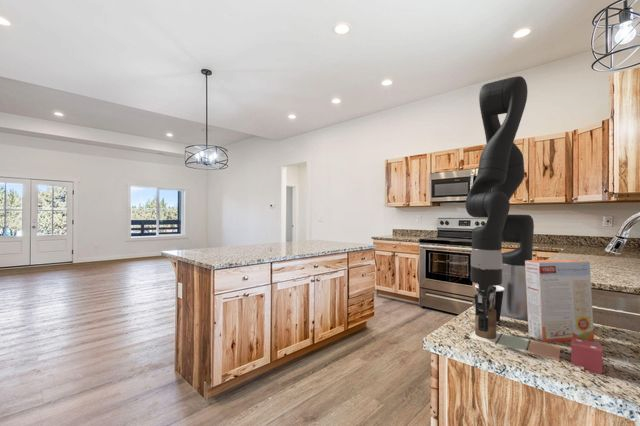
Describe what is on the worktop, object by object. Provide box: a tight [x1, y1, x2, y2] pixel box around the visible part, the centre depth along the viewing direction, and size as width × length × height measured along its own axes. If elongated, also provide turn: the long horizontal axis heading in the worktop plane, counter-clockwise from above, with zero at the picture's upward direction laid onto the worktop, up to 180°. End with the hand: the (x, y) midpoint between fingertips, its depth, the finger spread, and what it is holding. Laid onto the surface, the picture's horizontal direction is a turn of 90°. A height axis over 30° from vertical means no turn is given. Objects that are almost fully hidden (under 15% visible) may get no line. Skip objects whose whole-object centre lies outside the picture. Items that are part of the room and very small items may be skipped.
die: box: [570, 337, 603, 375], centre depth 67 cm, size 5×5×5 cm
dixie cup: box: [475, 283, 505, 324], centre depth 92 cm, size 8×8×11 cm
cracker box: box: [525, 259, 595, 343], centre depth 81 cm, size 14×6×21 cm, turn 92°
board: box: [468, 330, 562, 361], centre depth 77 cm, size 11×20×1 cm, turn 50°
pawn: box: [474, 300, 497, 339], centre depth 81 cm, size 5×5×10 cm
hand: (485, 327), depth 81 cm, fingers closed on pawn, 5 cm apart
